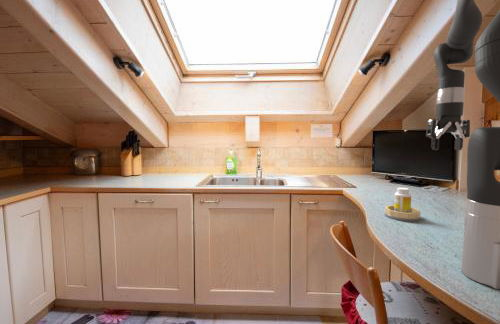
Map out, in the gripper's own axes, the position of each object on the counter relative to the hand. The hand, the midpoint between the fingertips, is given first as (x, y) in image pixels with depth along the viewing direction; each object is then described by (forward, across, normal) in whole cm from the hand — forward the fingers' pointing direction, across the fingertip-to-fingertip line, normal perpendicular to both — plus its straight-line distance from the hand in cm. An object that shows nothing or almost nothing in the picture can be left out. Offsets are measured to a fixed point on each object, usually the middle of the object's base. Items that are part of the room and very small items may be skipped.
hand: (446, 149), depth 91 cm
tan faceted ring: (+26, -8, +11) cm, 30 cm away
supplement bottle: (+26, -8, +10) cm, 29 cm away
